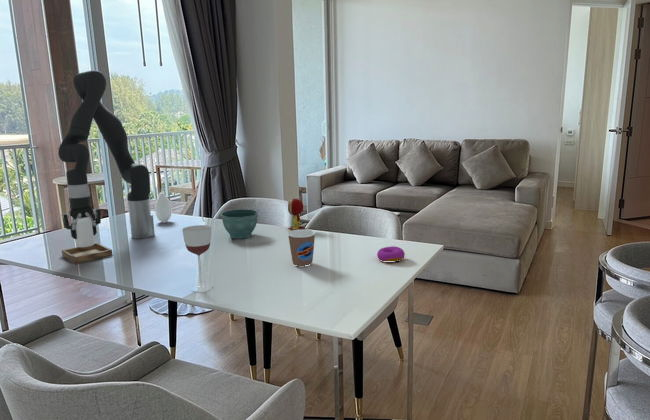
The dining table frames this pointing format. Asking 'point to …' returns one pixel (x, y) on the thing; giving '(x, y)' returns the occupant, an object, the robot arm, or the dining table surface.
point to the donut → (390, 253)
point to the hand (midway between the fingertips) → (84, 236)
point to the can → (84, 232)
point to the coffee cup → (302, 246)
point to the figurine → (295, 213)
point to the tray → (86, 253)
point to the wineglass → (197, 242)
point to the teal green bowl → (239, 222)
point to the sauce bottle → (163, 208)
